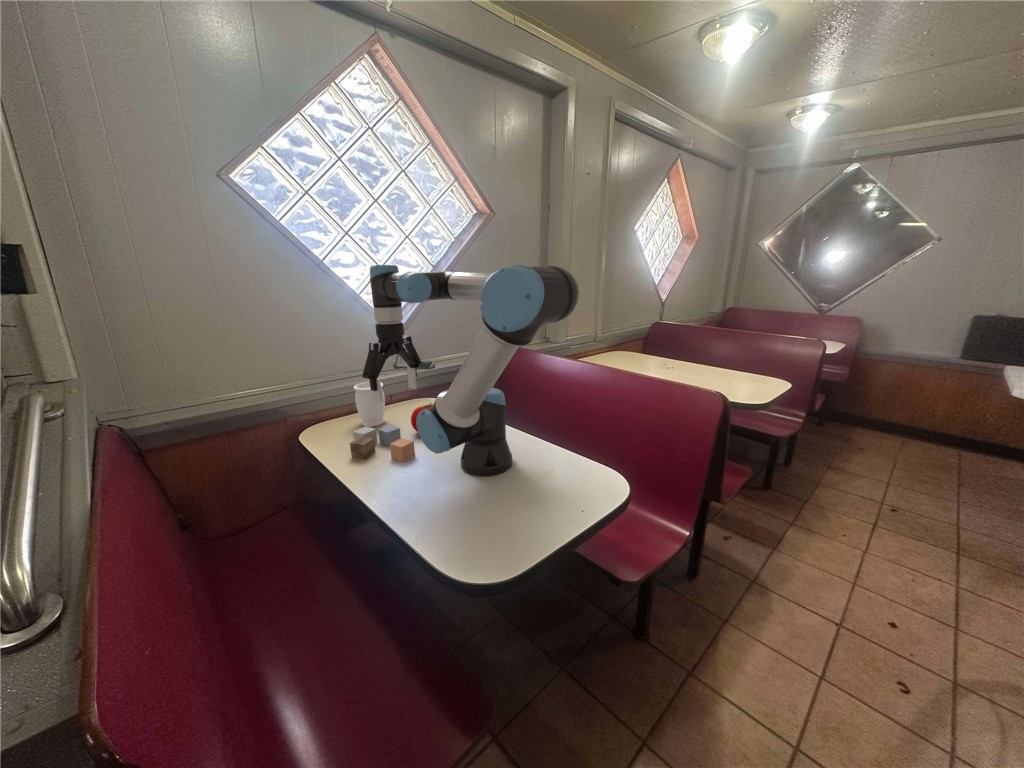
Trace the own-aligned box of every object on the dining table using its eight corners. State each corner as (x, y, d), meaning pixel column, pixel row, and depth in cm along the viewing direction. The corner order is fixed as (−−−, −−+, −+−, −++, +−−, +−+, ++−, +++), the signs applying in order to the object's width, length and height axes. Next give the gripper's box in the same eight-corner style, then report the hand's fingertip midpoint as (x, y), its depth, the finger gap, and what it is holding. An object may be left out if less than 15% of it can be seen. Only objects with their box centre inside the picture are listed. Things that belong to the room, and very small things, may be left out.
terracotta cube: (415, 456, 123) (413, 441, 122) (403, 462, 119) (401, 447, 117) (403, 452, 125) (401, 437, 124) (391, 458, 121) (389, 443, 120)
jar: (359, 419, 153) (354, 382, 149) (387, 416, 156) (383, 380, 152) (357, 429, 143) (352, 390, 139) (387, 426, 146) (383, 387, 142)
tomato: (451, 434, 138) (449, 407, 135) (414, 441, 134) (412, 412, 131) (444, 423, 148) (442, 397, 145) (410, 429, 144) (407, 402, 141)
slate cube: (401, 441, 133) (399, 428, 132) (388, 446, 130) (386, 432, 128) (392, 437, 136) (391, 424, 135) (379, 442, 133) (378, 428, 131)
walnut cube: (375, 452, 126) (373, 438, 124) (365, 459, 121) (363, 444, 120) (361, 451, 127) (359, 436, 126) (351, 457, 122) (349, 443, 121)
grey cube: (377, 442, 133) (375, 429, 131) (365, 448, 129) (363, 434, 127) (367, 439, 135) (365, 426, 134) (355, 445, 131) (353, 431, 130)
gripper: (411, 316, 123) (416, 382, 129) (341, 327, 102) (352, 404, 108) (429, 317, 119) (434, 385, 125) (361, 329, 98) (371, 409, 104)
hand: (396, 394), depth 117 cm, fingers open, 13 cm apart
